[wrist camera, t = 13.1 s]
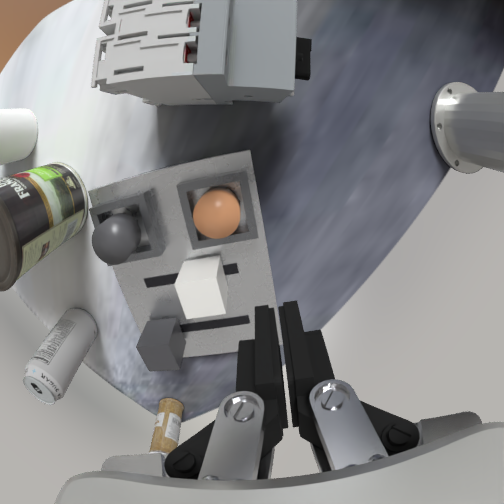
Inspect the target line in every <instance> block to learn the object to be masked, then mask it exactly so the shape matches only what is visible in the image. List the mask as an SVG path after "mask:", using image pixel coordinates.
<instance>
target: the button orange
mask: <svg viewBox="0 0 504 504" xmlns="http://www.w3.org/2000/svg"><path fill="white" fill-rule="evenodd" d="M193 220H194V223H195V226H196V227H197V229H198V230H199V231H200V232H201V233H202V234H203V235H205V236H207V237H209V238H214V239H220V238H225V237H227V236H229V235H231V234H232V233H233V232H234V231H235V230H236V229H237V227H238V225H239V222H240V202H239V199H238V198H237V196H236V195H235V194H234V193H233V192H232V191H231V190H229V189H226V188H222V187H216V188H212V189H209V190H208V191H206V192H205V193H204V194H203V195H202V196H201V198H200V199H199V201H198V202H197V204H196V206H195V208H194V212H193Z"/></svg>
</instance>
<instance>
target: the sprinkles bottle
mask: <svg viewBox="0 0 504 504" xmlns="http://www.w3.org/2000/svg"><path fill="white" fill-rule="evenodd" d="M183 409H184V406H183V404H182V403H181V402H179V401H178V400H176V399H172V398H165V399H162V400H161V401H160V403H159V410H158V414H157V417H156V422H155V427H154V431H153V438H152V442H151V448H150V451H149V453H148V454H151V453H162V454H169V453H170V452H171V451H172V450H174V449H175V448H177V446H178V440H179V433H180V427H181V417H182V411H183Z"/></svg>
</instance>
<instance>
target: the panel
mask: <svg viewBox="0 0 504 504" xmlns="http://www.w3.org/2000/svg"><path fill="white" fill-rule="evenodd" d="M216 187H222V188H226V189H229V190H231V191H232V192H233V193H234V194H235V195H236V196H237V198H238V199H239V202H240V222H239V225H238V227H237V229H236V230H235V231H234V232H233V233H232V234H231V235H229V236H227V237H225V238H220V239H214V238H209V237H207V236H205V235H203V234H202V233H201V232H200V231H199V230H198V229H197V227H196V226H195V223H194V220H193V212H194V208H195V206H196V204H197V202H198V201H199V199H200V198H201V196H202V195H203V194H204V193H205V192H206V191H208V190H209V189H212V188H216ZM88 192H89V196H90V199H91V203H92V206H93V207H92V208H90V209H89V211H90V215H91V218H92V221H93V224H94V227H95V228H96V227H97V226H99V225H100V224H101V223H103V222H104V221H105V220H107V219H108V218H110V217H111V216H112V215H114V214H117V213H124V214H127V215H130V216H131V217H133V218H134V219H135V220H136V221H137V223H138V225H139V227H140V229H141V241H140V244H139V245H138V247H137V248H136V249H135V250H134V251H133V253H132V254H131V255H130V256H129V257H128V259H127V260H126V261H125V262H123V263H121V264H118V265H111V264H108V263H107V265H108V266H113V269H114V272H115V274H116V277H117V279H118V282H119V284H120V287H121V289H122V292H123V294H124V297H125V299H126V301H127V304H128V306H129V308H130V310H131V313H132V315H133V317H134V319H135V322H136V324H137V326H138V328H139V330H140V332H141V334H142V332H143V330H144V327H145V325H146V323H147V321H151V320H160V319H168V318H177V320H178V323H179V325H180V328H181V330H182V333H183V335H184V338H185V340H186V345H185V350H184V354H183V357H193V356H203V355H212V354H221V353H229V352H236V351H238V345H239V341H240V340H250V339H255V306H262V305H268V306H269V308H274V311H275V318H276V325H277V332H278V339H279V345H282V344H283V342H282V336H281V329H280V323H279V316H278V310H277V304H276V298H275V292H274V285H273V279H272V273H271V267H270V261H269V255H268V249H267V243H266V237H265V232H264V226H263V220H262V214H261V208H260V203H259V197H258V191H257V186H256V180H255V175H254V169H253V164H252V158H251V153H250V149H248V150H243V151H237V152H232V153H227V154H222V155H217V156H212V157H207V158H203V159H198V160H194V161H190V162H185V163H181V164H177V165H173V166H169V167H165V168H161V169H157V170H154V171H150V172H146V173H143V174H139V175H136V176H132V177H129V178H126V179H122V180H119V181H116V182H113V183H109V184H106V185H103V186H100V187H97V188H95V189H93V190H91V191H88ZM218 255H220V257H221V261H222V265H223V269H224V274H225V278H226V282H227V286H228V294H227V307H226V314H221V315H214V316H207V317H199V318H192V319H186V316H185V314H184V311H183V308H182V305H181V302H180V299H179V297H178V294H177V291H176V288H175V285H174V284H175V282H176V279H177V277H178V274H179V272H180V270H181V267H182V265H183V263H184V261H190V260H195V259H201V258H207V257H212V256H218Z"/></svg>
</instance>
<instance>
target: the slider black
mask: <svg viewBox="0 0 504 504" xmlns="http://www.w3.org/2000/svg"><path fill="white" fill-rule="evenodd" d="M185 345H186V340H185V338H184V335H183V333H182V330H181V328H180V325H179V323H178V320H177V318H168V319H160V320H151V321H147V323H146V325H145V327H144V330H143V332H142V334H141V337H140V339H139V341H138V344H137V346H136V348H137V350H138V351H139V353H140V355H141V357H142V359H143V361H144V363H145V364H146V366H147V368H148V370H149V371H168V370H180V368H181V363H182V359H183V354H184V350H185Z"/></svg>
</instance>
